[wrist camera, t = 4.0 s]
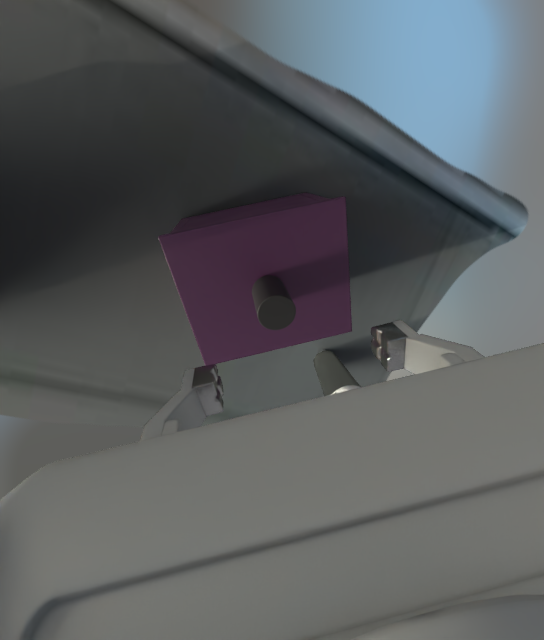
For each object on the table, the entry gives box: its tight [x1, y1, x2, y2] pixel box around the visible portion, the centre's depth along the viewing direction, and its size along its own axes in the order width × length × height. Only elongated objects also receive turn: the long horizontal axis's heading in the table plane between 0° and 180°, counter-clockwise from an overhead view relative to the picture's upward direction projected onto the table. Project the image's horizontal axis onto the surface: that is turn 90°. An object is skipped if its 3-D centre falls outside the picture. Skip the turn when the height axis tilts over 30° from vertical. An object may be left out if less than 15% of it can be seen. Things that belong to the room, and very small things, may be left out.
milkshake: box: [313, 351, 361, 396], centre depth 34 cm, size 4×5×10 cm
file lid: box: [158, 196, 352, 365], centre depth 21 cm, size 13×11×5 cm
